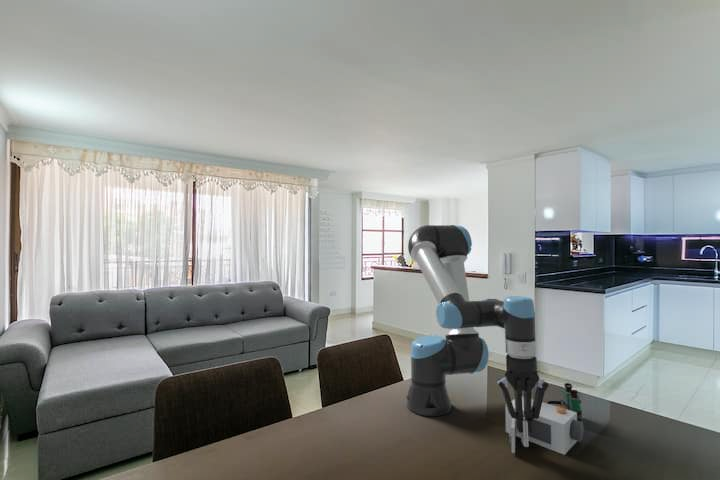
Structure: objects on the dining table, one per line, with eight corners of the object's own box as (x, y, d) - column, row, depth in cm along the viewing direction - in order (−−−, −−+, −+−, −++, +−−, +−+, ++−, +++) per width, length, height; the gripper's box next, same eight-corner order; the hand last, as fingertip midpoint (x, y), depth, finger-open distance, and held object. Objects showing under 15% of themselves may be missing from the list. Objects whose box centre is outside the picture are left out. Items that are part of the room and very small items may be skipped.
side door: (510, 432, 105) (510, 410, 105) (516, 433, 105) (516, 411, 105) (509, 451, 95) (508, 427, 96) (515, 453, 95) (515, 428, 95)
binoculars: (540, 382, 120) (573, 381, 118) (544, 414, 120) (577, 414, 118) (549, 393, 112) (584, 392, 110) (553, 427, 111) (589, 427, 109)
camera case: (505, 432, 107) (505, 402, 107) (520, 420, 114) (520, 392, 114) (572, 458, 94) (572, 424, 94) (585, 443, 101) (584, 412, 101)
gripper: (500, 359, 94) (504, 450, 94) (551, 359, 93) (555, 452, 92) (493, 351, 102) (496, 436, 101) (540, 351, 100) (544, 437, 99)
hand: (524, 444), depth 96 cm, fingers closed
